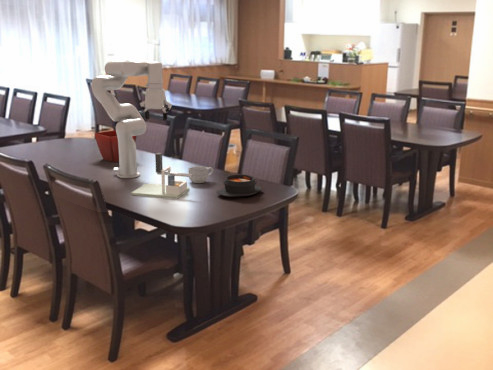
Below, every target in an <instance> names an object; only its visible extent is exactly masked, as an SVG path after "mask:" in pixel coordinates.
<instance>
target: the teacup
mask: <svg viewBox="0 0 493 370" xmlns="http://www.w3.org/2000/svg"><path fill="white" fill-rule="evenodd" d="M187 169H188V170H187V171H188V174H192V177H188V178H189V181H191V182H192V183H193V184H202V183H203V184H204V183H205V182H206V181H207V180H208V179H209V178H210V176H211V175H212V174H213V173H214V168H213V167H211V166H209V167H208V166H201V165H200V166H198V165H197V166H192V167H191V166H190V167H189V168H187ZM209 170H210V172H209Z"/></svg>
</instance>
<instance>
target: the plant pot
mask: <svg viewBox="0 0 493 370" xmlns="http://www.w3.org/2000/svg"><path fill="white" fill-rule="evenodd" d="M94 138H95V141H96V144H97V148H98V151H99V154H100V156H101V157H102V160H105V161H109V162H111V163H116V162H119V147H118V137H117V133H116V129H114V130H106V131H99V132H94ZM132 138H133V139H134V141H135V142H136V139H137V135H136V136H132Z"/></svg>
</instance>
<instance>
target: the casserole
mask: <svg viewBox="0 0 493 370" xmlns="http://www.w3.org/2000/svg"><path fill="white" fill-rule="evenodd" d="M222 183H223V185H224V187H223V188H221V189H218V190H217V191H216V193H217V194H218V195H220V196H224V197H228V198H231V197H236V198H237V197H238V198H242V197H248V196H249V197H250V196H252V195H255V194H257V193H258V192H261V191H263V188H262V187H261V186H259V185H257V181H256V178H255V177H254V176H252V175H247V174H231V175H227V176H226V177H225V178H224V180H223V181H222Z"/></svg>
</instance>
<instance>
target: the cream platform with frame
mask: <svg viewBox="0 0 493 370" xmlns="http://www.w3.org/2000/svg"><path fill="white" fill-rule="evenodd" d="M171 170H172V169H171V166H166V167H164V168H163V170H161V174H162V175H161V184H156V183H145V184H142V186H140V187H138V188H137V189H135V190H133V191H131V196H137V197H138V196H140V197H148V198H149V197H150V198H161V199H162V198H163V199H172V200H174V199H175V200H177V199H179V198H180V197H181V196H183V195H184V194H185V193H187V192H188V191H189V190H190V186H188V182H187V181H186V180H185V181H184V180H176V179H175V184H180V185H179V186H169V185H168V184H166V183H165V182H166V179H165V177H166V175H165V172H172V171H171Z"/></svg>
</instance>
